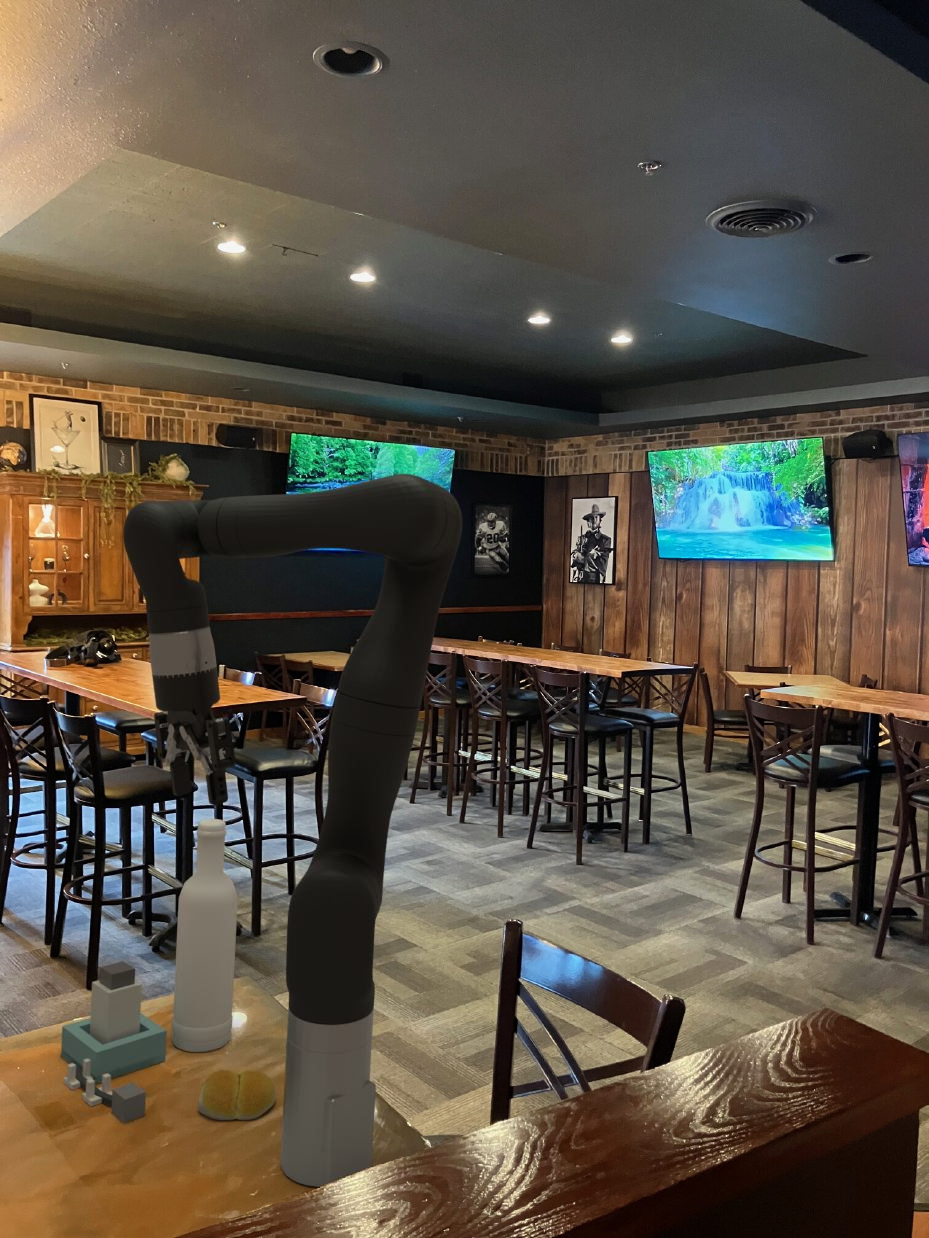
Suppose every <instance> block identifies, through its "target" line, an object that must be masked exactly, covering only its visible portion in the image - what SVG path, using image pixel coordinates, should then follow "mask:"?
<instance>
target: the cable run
mask: <svg viewBox="0 0 929 1238" xmlns="http://www.w3.org/2000/svg"><path fill="white" fill-rule="evenodd" d="M66 1068H67V1072H66V1077H63V1082H62V1083H64V1084H65V1086H66V1087H68V1088H69V1089H70V1090H72V1091H73V1090H76V1089H79V1088H80V1089H82V1091H83V1093H81V1100H83V1101H84V1102H85V1103H86V1104H87V1105H88V1106H90V1107H94V1106H96V1105H100V1104H103V1105H105V1106H108V1107H110V1108H111V1111H110V1112H111V1114H112V1116H114V1117H115V1118H117V1119H118V1120H119V1121H120V1122H121V1123H123V1124H126V1123H129V1122H132V1121H134V1120H137V1119H139V1118H143V1117H145V1116H146V1101H147V1100H146V1097H147V1095H146V1094H147V1091H145V1089H143V1088H142V1087H140V1086H139V1085H137V1084H136V1083H135V1082H130V1083H127V1084H124V1085H121V1086H118V1087H116V1088H115V1087H114V1088H113V1089H112V1091H111V1087H112V1086H111V1085H112V1084H111V1083H112V1079H111V1075H109V1074H108V1073H107V1074H104V1075H102V1083H101V1086H100V1087H97V1085H95V1081H94V1080H93V1078H92V1077H91V1076H90V1071H91V1060H89V1059H88V1058H87V1059H84V1060H83V1072H82V1068H80V1069H76V1065H75V1064H74V1063H72V1064H69V1063H68V1064H67V1065H66Z"/></svg>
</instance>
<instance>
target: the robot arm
mask: <svg viewBox="0 0 929 1238" xmlns="http://www.w3.org/2000/svg"><path fill="white" fill-rule="evenodd" d="M123 523H124V525H123V529H122V530H123V533H122V534H123V535H122V536H123V537H122V538H123V544H124V550H125V552H126V556H127V557H128V560H129V564H130V565H131V568H132V571H133V574H134V576H135V579H136V582H137V584H138V587H139V588H140V591H141V593H142V595H143V598H144V602H145V610H146V611H145V612H146V619H147V626H148V628H147V629H148V633H149V634H148V636H149V645H148V646H149V649H148V650H149V661H150V668H151V676H152V677H151V678H152V684H153V692H154V700H155V701H154V702H155V707H156V709H158V710H159V712H155V713H154V714H153V718H154V719H153V721H154V730H155V731H154V732H155V741H156V749H157V757H158V759H159V760H160V761H161V760H162V761H163V760H164V761H165V764H166V766H168V767H169V771H170V772H169V773H170V777H171V778H170V780H171V788H172V794H173V795H174V796H178V797H180V796H184V795H187V794H190V793H191V792H192V789H193V788H192V782H191V774H190V773H191V772H190V764H189V763H187V761H188V760H189V756H190V753H191V754H192V756H193V758H194V759H195V760H197V761H199V762H200V763H201V766H202V768H203V770H204V772H205V782H206V790H207V798H208V803H209V804H210V805H213V806H218V805H221V804H224V803H226V802H228V799H229V794H228V785H227V776H226V771H228V769H230V768H234V767H236V764H237V761H236V754H235V748H234V741H233V734H232V728H231V721H230V719H229V717H228V716H223V717H218V718H215V717H214V714H213V709H212V707H213V706H214V705H216V704H217V703H219V702H220V700H221V692H220V684H219V678H218V666H217V665H218V664H217V659H216V650H215V644H214V639H213V637H212V632H211V627H210V618H209V617H210V616H209V609H208V601H207V594H206V590H205V587H204V586H203V584H202V583H201V582H200V581H198V580H196V579H191V578H188V577H187V576H186V573H185V571H184V569H183V566H182V564H181V560H183V559H192V558H205V557H218V558H224V559H225V558H226V559H246V558H252V559H253V558H268V557H269V558H270V557H271V558H272V557H278V556H284V555H291V554H294V553H298V552H303V551H309V550H317V549H341V550H348V551H349V550H350V551H355V552H364V553H369V554H373V555H374V554H375V555H379V556H383V557H385V562H384V563H385V564H384V570H383V574H382V575H383V577H382V582H381V587H380V591H379V595H378V599H377V601H376V605H375V608H374V610H373V613H372V615H371V617H370V618H369V620H368V622H367V624H366V626H365V628H364V630H363V632H362V633H361V635H360V636H359V638H358V640H357V642H356V644H355V645H354V647H353V648H352V651H351V652H350V654H349V656H348V658H347V660H346V663H345V665H344V667H343V670H342V672H341V676H340V679H339V683H338V686H337V691H336V695H335V700H334V705H333V709H332V710H333V711H332V715H331V721H330V727H329V736H328V737H329V738H328V746H327V747H328V749H327V751H328V753H327V779H328V781H327V783H328V784H327V788H328V789H327V801H326V808H325V812H324V817H323V820H322V821H323V822H322V825H321V829H320V833H319V836H318V840H317V843H316V847H315V849H314V852H313V855H312V858H311V861H310V863H309V866H308V868H307V870H306V872H305V873H304V874H303V876H302V878H301V879H300V880H299V881H298V883H297V884H296V886H295V888H294V889H293V892H292V894H291V897H290V901H289V904H288V912H287V923H286V924H287V926H286V927H287V928H286V949H285V950H286V954H285V956H286V958H285V959H286V961H285V982H286V988H287V991H288V1007H287V1008H288V1010H287V1027H286V1028H287V1030H286V1031H287V1032H286V1047H285V1064H284V1066H285V1067H284V1084H283V1085H284V1087H283V1105H282V1106H283V1109H282V1123H281V1125H282V1126H281V1128H282V1130H281V1148H280V1149H281V1151H280V1167H281V1169H282V1170H281V1171H282V1172H283V1173H284V1174H285V1175H286V1176H287V1177H288V1178H289V1179H290V1180H291V1181H294V1182H297V1183H298V1184H301V1185H304V1186H311V1187H318V1188H321V1187H320V1186H324V1185H325V1184H328V1183H331V1182H334V1181H337V1180H339V1179H341V1178H345V1177H346V1176H349V1175H352V1174H354V1173H357V1172H360V1171H362V1170H365V1169H366V1168H370V1167H373V1145H374V1132H375V1131H374V1130H375V1128H374V1127H375V1113H376V1111H375V1110H376V1108H375V1107H376V1091H377V1085H376V1083H375V1082H374V1081H372V1080H371V1065H372V1063H371V1062H372V1047H373V1046H372V1045H373V1044H372V1043H373V1042H372V1041H373V1026H374V1009H375V995H376V986H375V981H374V975H373V974H374V973H373V971H374V970H373V969H374V952H375V951H374V949H375V934H376V933H375V932H376V919H377V917H378V915H379V912H380V909H381V905H382V903H383V902H382V901H383V892H384V876H385V867H386V866H385V864H386V854H387V846H388V844H387V843H388V836H389V828H390V822H391V817H392V812H393V811H394V807H395V803H396V800H397V797H398V794H399V792H400V788H401V785H402V782H403V780H404V777H405V773H406V770H407V766H408V763H409V759H410V755H411V751H412V748H413V745H414V744H413V743H414V740H415V736H416V732H417V731H416V730H417V726H418V722H419V717H420V716H419V715H420V712H421V711H420V710H421V706H422V703H423V702H422V701H423V696H424V695H423V694H424V688H425V682H426V677H427V672H428V667H429V662H430V657H431V653H432V647H433V642H434V637H435V632H436V631H435V630H436V625H437V621H438V620H437V619H438V617H439V616H438V615H439V610H440V608H441V604H442V600H443V597H444V594H445V590H446V587H447V584H448V581H449V577H450V575H451V571H452V568H453V565H454V562H455V559H456V556H457V552H458V549H459V546H460V542H461V538H462V533H463V515H462V511H461V507H460V505H459V502H458V501H457V499H456V498H455V496H454V495H453V494H452V493H451V492H450V491H449V490H448V489H446V488H445V487H442V486H441V485H439V484H437V483H435V482H432V481H430V480H427V479H425V478H423V477H421V476H418V475H414V474H410V473H409V474H408V473H399V474H393V475H392V474H391V475H388V476H383V477H379V478H376V479H371V480H367V481H361V482H359V483H355V484H351V485H347V486H341V487H337V488H331V489H326V490H321V491H320V490H319V491H313V492H305V493H304V492H303V493H288V494H266V495H264V494H262V495H261V494H260V495H245V496H244V495H242V496H227V497H221V498H215V499H212V500H211V499H207V500H206V499H205V500H203V499H202V500H201V499H199V500H198V499H194V500H193V499H191V500H190V499H189V500H188V499H187V500H183V499H182V500H148V501H143V502H139V503H137V504H135V505H134V506H133V507H132V508H131V509H130V510H129V511H128V513H127V515H126V517H125V520H124V522H123ZM223 750H225V756H224V753H223ZM210 758H211V759H210Z"/></svg>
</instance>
